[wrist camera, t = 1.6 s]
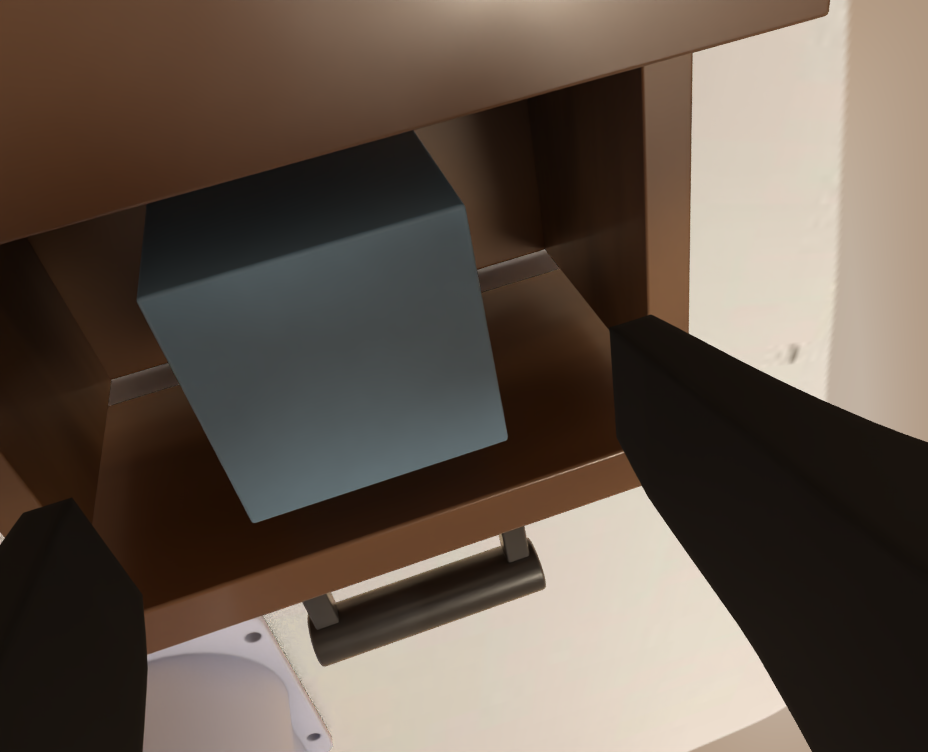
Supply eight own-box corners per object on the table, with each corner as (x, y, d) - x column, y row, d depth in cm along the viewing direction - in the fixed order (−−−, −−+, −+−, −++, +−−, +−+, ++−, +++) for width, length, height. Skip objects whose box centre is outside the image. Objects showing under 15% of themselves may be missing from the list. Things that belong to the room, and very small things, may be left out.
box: (428, 278, 18) (509, 441, 14) (235, 335, 18) (252, 525, 13) (382, 82, 15) (466, 204, 11) (151, 144, 15) (134, 299, 10)
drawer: (602, 435, 25) (715, 608, 19) (182, 574, 23) (180, 803, 18) (543, -302, 14) (770, -365, 8) (-271, -125, 12) (-632, -66, 7)
